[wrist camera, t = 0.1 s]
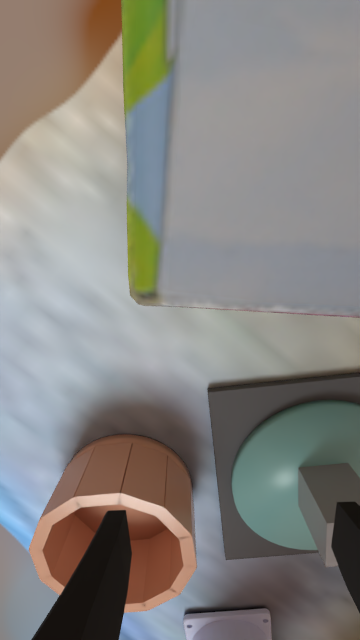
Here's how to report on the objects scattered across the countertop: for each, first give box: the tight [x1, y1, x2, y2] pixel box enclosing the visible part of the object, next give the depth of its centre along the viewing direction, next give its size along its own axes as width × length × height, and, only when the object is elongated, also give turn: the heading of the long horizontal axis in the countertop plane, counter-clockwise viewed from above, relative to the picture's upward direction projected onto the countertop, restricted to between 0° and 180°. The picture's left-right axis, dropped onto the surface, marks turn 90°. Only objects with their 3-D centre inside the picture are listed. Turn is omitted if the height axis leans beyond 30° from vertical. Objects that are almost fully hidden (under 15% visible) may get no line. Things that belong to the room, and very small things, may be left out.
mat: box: [208, 373, 360, 560], centre depth 21 cm, size 16×15×1 cm
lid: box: [231, 400, 360, 567], centre depth 18 cm, size 13×13×5 cm
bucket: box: [29, 434, 197, 613], centre depth 19 cm, size 10×10×5 cm
